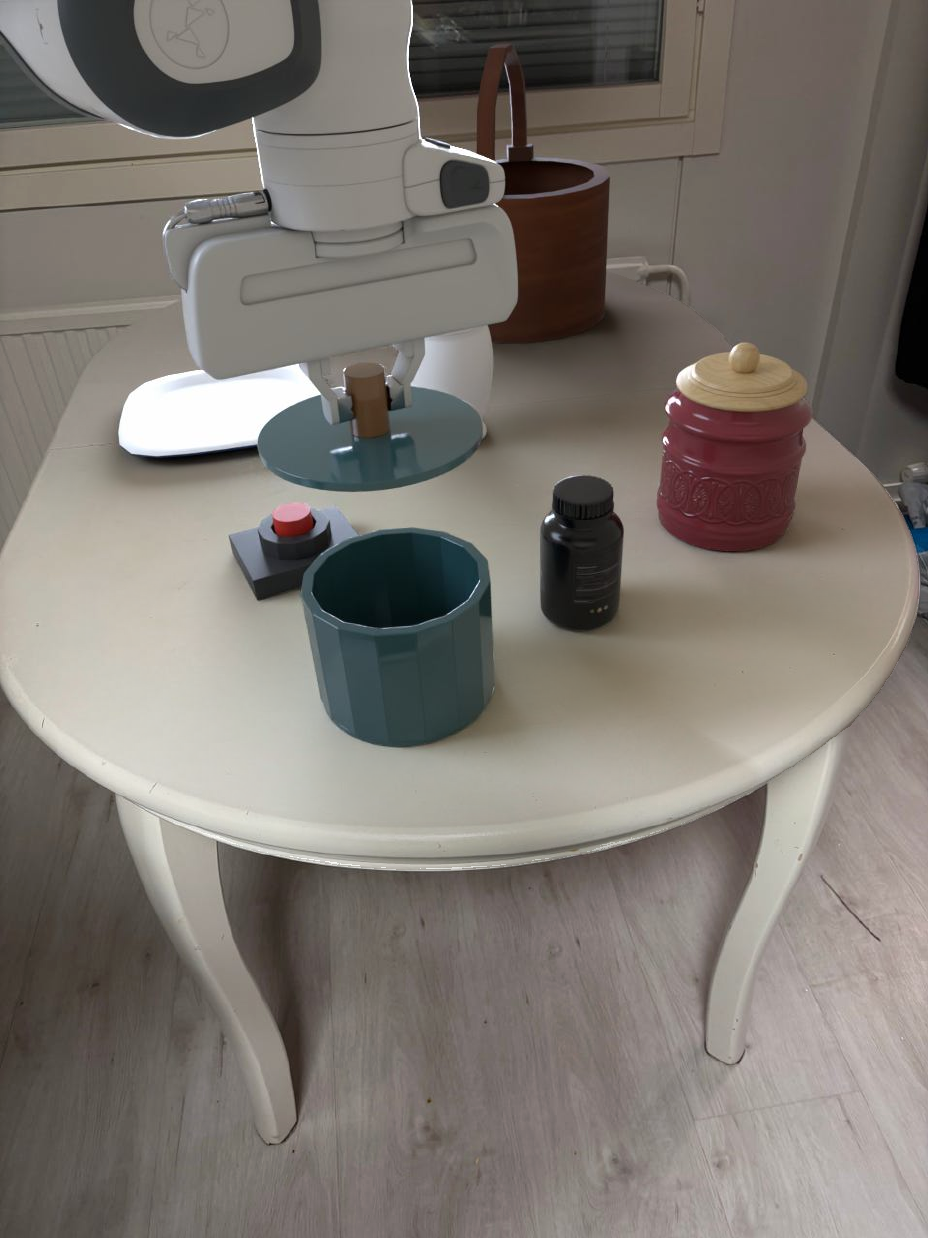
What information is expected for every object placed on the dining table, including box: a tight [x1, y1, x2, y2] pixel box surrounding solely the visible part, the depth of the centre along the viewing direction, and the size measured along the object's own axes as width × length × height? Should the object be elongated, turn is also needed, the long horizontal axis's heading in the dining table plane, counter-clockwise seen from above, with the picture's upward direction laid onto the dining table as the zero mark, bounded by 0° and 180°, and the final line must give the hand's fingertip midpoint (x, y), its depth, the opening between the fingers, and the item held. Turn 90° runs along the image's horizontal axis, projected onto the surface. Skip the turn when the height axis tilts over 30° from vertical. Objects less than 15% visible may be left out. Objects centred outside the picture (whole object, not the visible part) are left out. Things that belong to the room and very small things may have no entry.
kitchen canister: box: [656, 342, 814, 552], centre depth 86 cm, size 13×13×18 cm
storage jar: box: [300, 526, 496, 748], centre depth 70 cm, size 14×14×10 cm
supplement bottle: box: [539, 474, 625, 632], centre depth 77 cm, size 7×7×12 cm
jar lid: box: [256, 362, 484, 493], centre depth 59 cm, size 15×15×5 cm
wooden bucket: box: [476, 42, 611, 344], centre depth 131 cm, size 26×26×35 cm
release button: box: [271, 501, 313, 537], centre depth 86 cm, size 4×4×2 cm
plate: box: [117, 364, 321, 459], centre depth 116 cm, size 25×25×2 cm
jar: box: [411, 325, 494, 440], centre depth 104 cm, size 11×10×15 cm
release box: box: [228, 505, 359, 601], centre depth 88 cm, size 11×9×4 cm
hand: (368, 413), depth 59 cm, fingers closed on jar lid, 2 cm apart
